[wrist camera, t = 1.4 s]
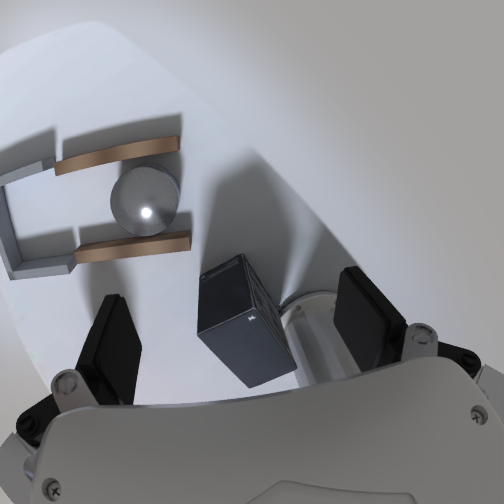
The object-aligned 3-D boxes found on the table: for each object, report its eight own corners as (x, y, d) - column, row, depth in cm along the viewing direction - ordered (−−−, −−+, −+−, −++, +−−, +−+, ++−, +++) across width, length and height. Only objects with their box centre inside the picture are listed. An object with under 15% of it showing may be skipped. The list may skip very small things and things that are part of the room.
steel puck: (176, 158, 27) (172, 162, 24) (184, 221, 30) (182, 231, 27) (114, 170, 26) (104, 174, 23) (125, 230, 29) (118, 240, 26)
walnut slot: (178, 135, 26) (176, 135, 24) (191, 242, 31) (190, 250, 29) (62, 160, 24) (53, 162, 22) (83, 256, 29) (77, 263, 28)
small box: (195, 276, 33) (191, 335, 23) (242, 251, 32) (256, 304, 23) (237, 332, 37) (247, 392, 28) (279, 311, 37) (301, 368, 28)
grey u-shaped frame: (54, 156, 24) (41, 160, 21) (78, 262, 30) (69, 273, 27) (-5, 178, 23) (-18, 184, 20) (20, 269, 28) (10, 280, 26)
